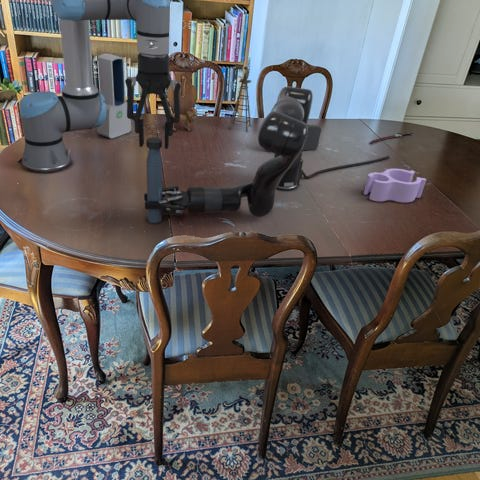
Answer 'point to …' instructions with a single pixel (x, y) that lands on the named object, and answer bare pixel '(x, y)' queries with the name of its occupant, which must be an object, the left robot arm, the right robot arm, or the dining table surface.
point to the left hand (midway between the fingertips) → (154, 145)
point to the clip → (394, 186)
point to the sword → (388, 137)
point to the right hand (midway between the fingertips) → (144, 201)
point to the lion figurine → (187, 118)
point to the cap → (154, 143)
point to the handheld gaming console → (312, 137)
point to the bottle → (154, 183)
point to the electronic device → (113, 96)
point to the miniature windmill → (244, 81)
